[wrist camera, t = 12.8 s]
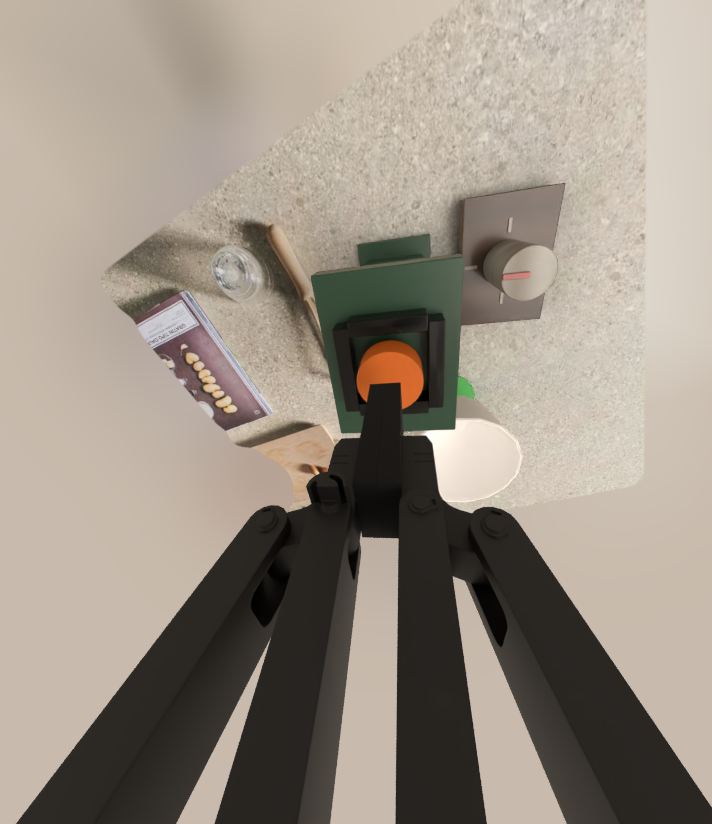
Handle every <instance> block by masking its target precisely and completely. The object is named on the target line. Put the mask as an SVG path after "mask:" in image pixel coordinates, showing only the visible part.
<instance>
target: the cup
mask: <svg viewBox="0 0 712 824" xmlns="http://www.w3.org/2000/svg"><path fill="white" fill-rule="evenodd" d="M474 396H475V394H474V391H473V388H472V386H471V384H469V383H468V382H467V381H466V380H465V379H464V378H462V377H459V376H458V388H457V407H456V427H455V430H431V431H412V434H411V436H421V435H426V436H427V437H428V438H429V440H430V441H431V442H432V444H433V451H434V459H435V466H436V473H437V481H438V488H439V493H440V496H441V497H442V499H443V500H444V501H447V502H470V501H475V500H479V499H484V498H488V497H490V496H491V495H493V494H495V493H497V492H499V491H501V490H502V489H504V488H506V486H507V485H508V484H509V483H510V482H511V481H512V480H513V479H514V478H515V476H516V475H517V474H518V472H519V468H520V465H521V461H522V457H523V456H522V453H521V449H520V446H519V443H518V440H517V439H516V438H515V437H514V436H513V435H512V433H511V432H510V431H509V430H508V429H507V428H506V427H505V426H504V425H503V424H502V423H501V422H500V421H499V420H498V419H497V418H496V417H495V416H494V415H493V414H492V413H491V412H490V411H489V410H488V409H487V408H486V407H485V406H484V405H483V404H481V403H480V402H479V401H478V400H475V399H474Z"/></svg>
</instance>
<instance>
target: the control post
mask: <svg viewBox="0 0 712 824" xmlns="http://www.w3.org/2000/svg"><path fill="white" fill-rule="evenodd" d="M358 254H359V263H360V267H352V268H344V269H337V270H329V271H321V272H317V273H315V274H314V275H312V276H311V281H312V286H313V291H314V296H315V301H316V306H317V312H318V317H319V322H320V327H321V332H322V337H323V342H324V347H325V352H326V358H327V363H328V368H329V373H330V378H331V383H332V388H333V393H334V398H335V403H336V409H337V414H338V419H339V424H340V429H341V433H361V431H362V425H363V420H364V414H365V409H366V403H367V402H366V401H365V400H364V399H363V398H362V396H361V395H360V393H359V391H358V387H357V375H358V371H359V367H360V364H361V360H362V358H363V356H364V354H365V353H366V351H367V350H368V349H369V348H370V347H372V346H373V345H375V344H376V343H379V342H382V341H386V340H396V341H401V342H403V343H406V344H408V345H409V346H411V347H412V348H413V349H414V350H415V351H416V352H417V354H418V355H419V357H420V360H421V364H422V371H423V379H424V384H423V389H422V392H421V394H420V396H419V397H418V398H417V400H416V401H415V402H414V403H412V404H411V405H410V406H408V407H406V408H404V409H402V413H403V431H431V430H455V427H456V407H457V388H458V369H459V349H460V330H461V311H462V291H463V272H464V256H462V255H461V254H452V255H444V256H436V257H430V234H426V235H419V236H412V237H405V238H398V239H392V240H385V241H378V242H371V243H364V244H359V245H358Z"/></svg>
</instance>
